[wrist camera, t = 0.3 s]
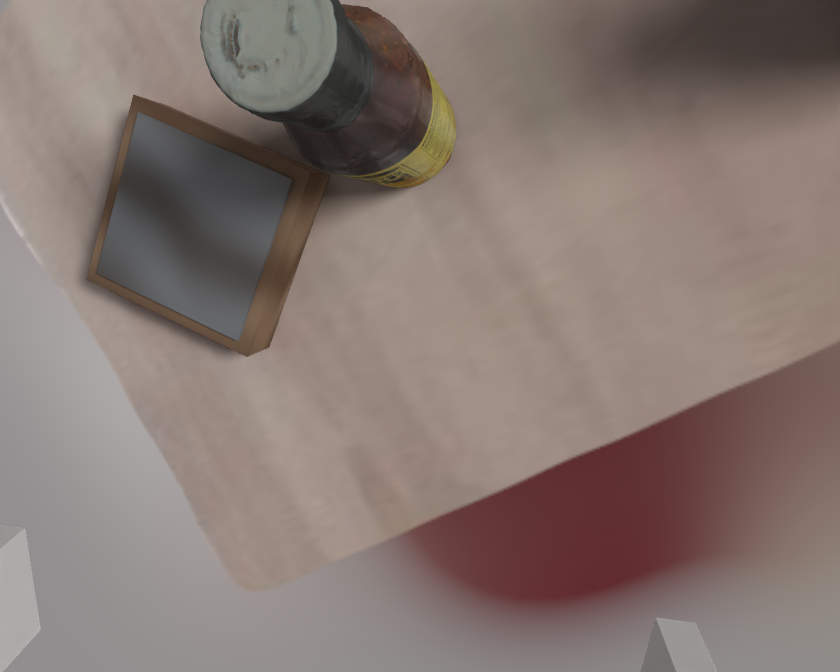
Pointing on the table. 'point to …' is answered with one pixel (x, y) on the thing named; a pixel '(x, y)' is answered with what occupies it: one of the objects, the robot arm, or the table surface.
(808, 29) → the table surface
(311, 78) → the sauce bottle
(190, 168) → the pedestal
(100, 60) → the table surface
